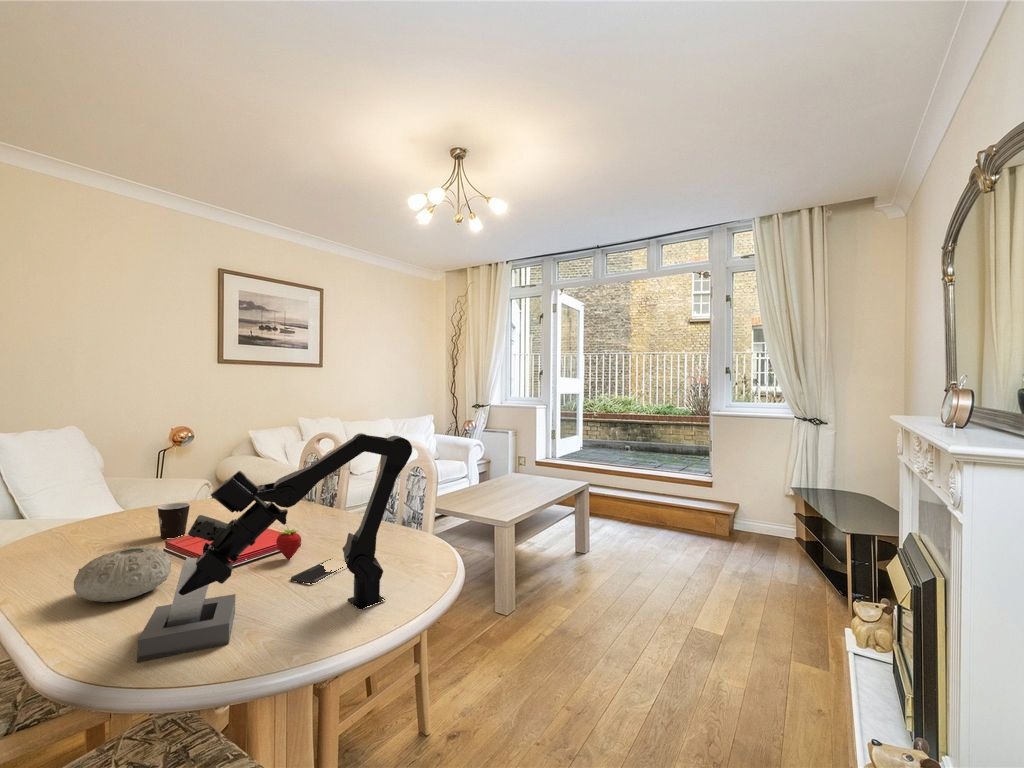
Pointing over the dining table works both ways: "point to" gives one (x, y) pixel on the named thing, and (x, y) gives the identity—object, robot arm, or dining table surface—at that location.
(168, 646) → the cradle
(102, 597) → the decorative shell
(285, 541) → the strawberry
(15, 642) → the dining table surface
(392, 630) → the dining table surface
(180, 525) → the coffee mug
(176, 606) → the steel block
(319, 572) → the phone
